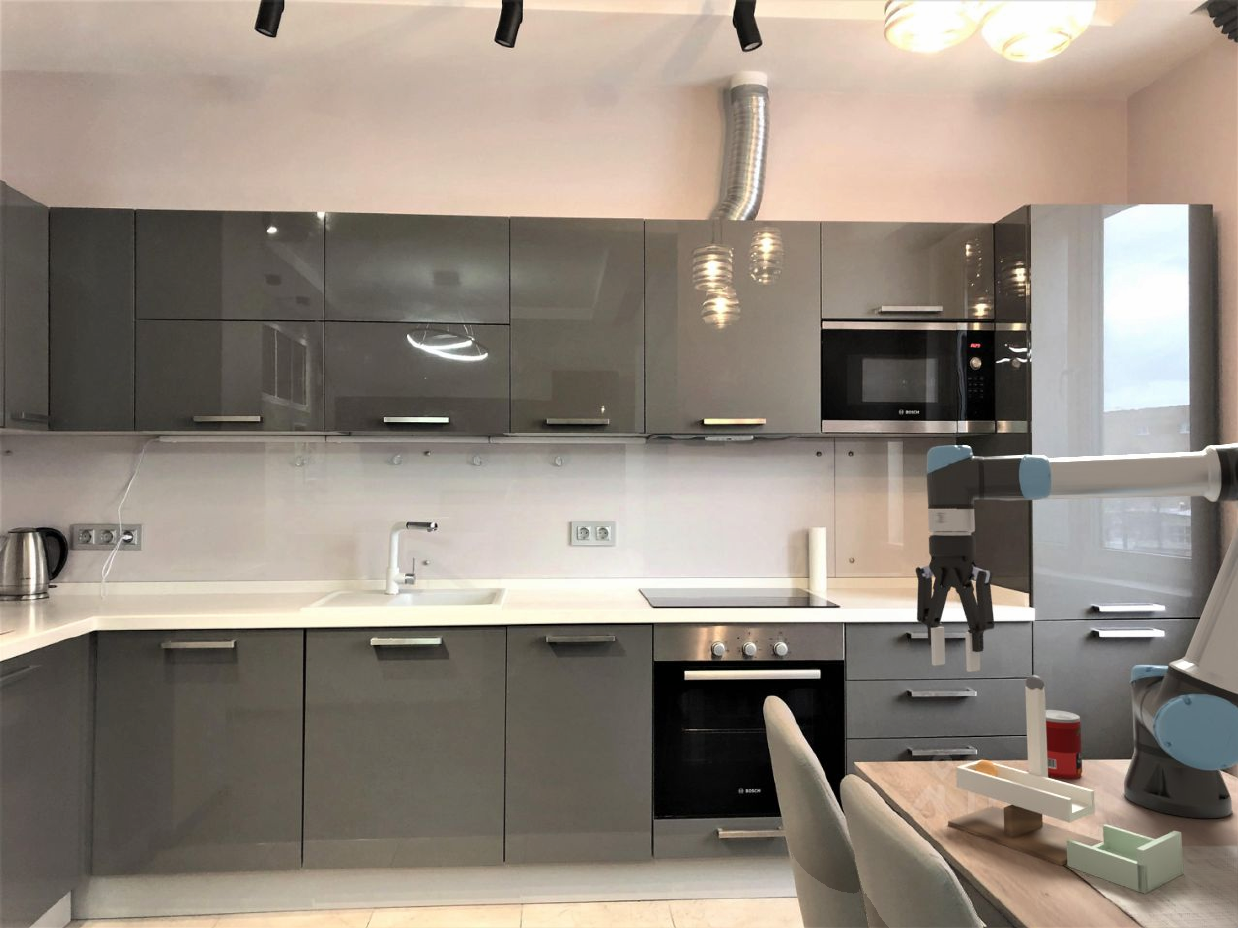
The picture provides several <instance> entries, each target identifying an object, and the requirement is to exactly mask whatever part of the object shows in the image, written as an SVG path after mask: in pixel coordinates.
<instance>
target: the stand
mask: <svg viewBox="0 0 1238 928" xmlns="http://www.w3.org/2000/svg"><path fill="white" fill-rule="evenodd" d="M1043 820H1044V819H1043V814H1040V813H1037V812H1034V811H1031V810H1028V809H1024V808H1021V807H1018V806H1015V805H1012V804H1009V805H1007V806H1004V807H1003V808H999V807H997V806H994V805H991V806H988V807H985V808H982V809H979V810H977V811H973V812H971V813H968V814H964V815H962V816H958V817H955V818H953V819H950V820H948V821H947V825H948V826H950V827H953V828H956V829H958V830H961V831H964V832H967V833H970V834H972V835H975V836H978V837H980V838H984V839H987V840H989V841H992V842H994V843H998V844H1000V845H1003V846H1006V847H1009V848H1010V849H1014V850H1017V851H1019V852H1021V853H1025V854H1028V855H1031V856H1034V857H1036V858H1039V859H1042V860H1045V861H1047V862H1049V863H1053V864H1056V865H1058V866H1061V867H1063V866H1065V865H1067V840H1069V839H1070V840H1073V841H1076V842H1079V843H1082V844H1085V845H1088V846H1091V847H1092V846H1094V845H1096V844H1099V843H1101V842H1103V841H1104V840H1103V841H1102V840H1100V839H1099V840H1098V839H1097V838H1094V837H1090V836H1087V835H1084V834H1081V833H1078V832H1075V831H1072V830H1069V829H1065V828H1062V827H1059V826H1055V825H1053V824H1050V823H1046V822H1043Z"/></svg>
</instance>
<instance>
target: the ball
mask: <svg viewBox="0 0 1238 928" xmlns="http://www.w3.org/2000/svg"><path fill="white" fill-rule="evenodd" d="M980 760H981V761H979V760H978V761H979V762H978V763H977V764H976V767H975V771H978V772H981V773H985V774H988V775H991V776H995V777H996V775H997V769H996V767H995V765H994V764H993V763H994V762H993V761H990V760H988V759H987V760H986V759H980Z"/></svg>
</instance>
